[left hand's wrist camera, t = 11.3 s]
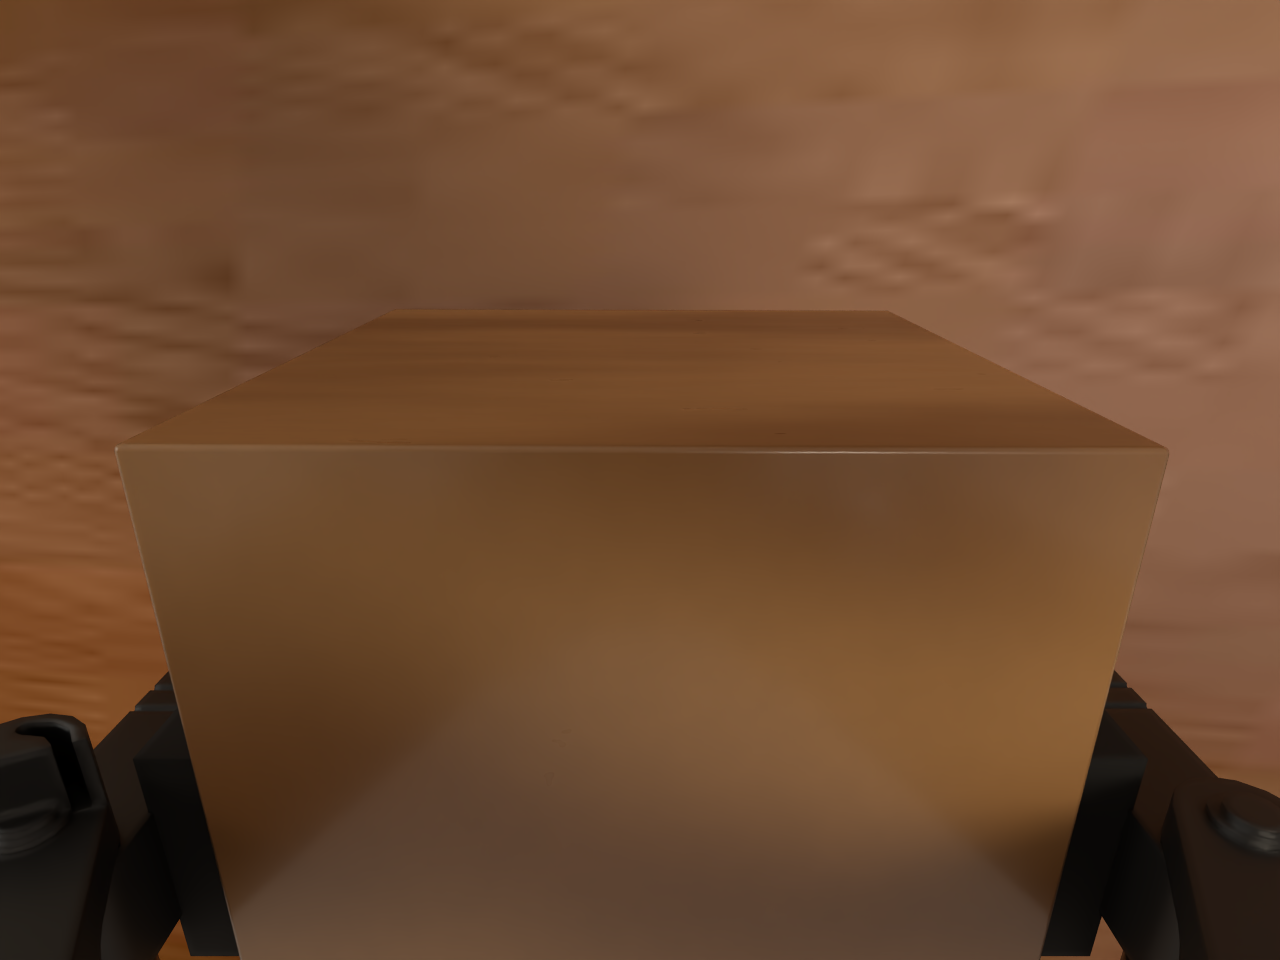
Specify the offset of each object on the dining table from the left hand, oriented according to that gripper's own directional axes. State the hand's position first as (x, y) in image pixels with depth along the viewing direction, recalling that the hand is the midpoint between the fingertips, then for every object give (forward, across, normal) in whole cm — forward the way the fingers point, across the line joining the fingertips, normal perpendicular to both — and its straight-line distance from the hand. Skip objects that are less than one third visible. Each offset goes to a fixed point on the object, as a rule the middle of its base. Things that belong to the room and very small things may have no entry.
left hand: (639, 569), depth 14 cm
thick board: (0, 0, -37) cm, 37 cm away
